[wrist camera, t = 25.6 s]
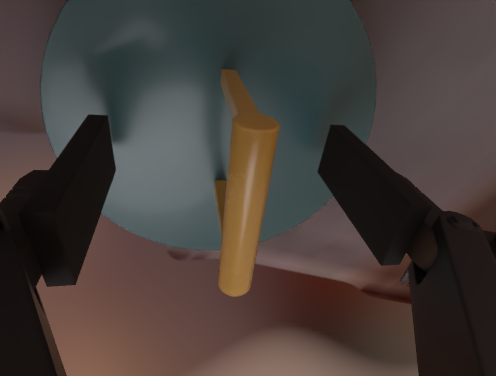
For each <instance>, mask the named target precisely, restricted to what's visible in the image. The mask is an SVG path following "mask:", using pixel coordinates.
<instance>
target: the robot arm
mask: <svg viewBox="0 0 496 376" xmlns="http://www.w3.org/2000/svg"><path fill="white" fill-rule="evenodd" d="M115 172H116V166H115V160H114V153H113V147H112V140H111V134H110V127H109V120H108V115H93V114H88V115H87V117H86V118H85V120H84V121H83V122H82V124H81V125H80V127H79V128H78V130H77V131H76V132H75V134H74V135H73V137H72V138H71V139H70V141H69V142H68V144H67V145H66V147H65V148H64V149H63V151H62V152H61V154H60V155H59V157H58V158H57V159H56V161H55V162H54V164H53V165H52V166H51V168H50V169H49V170H33V171H32V172H30V173H28V174H27V175H25V176H23V177H22V178H20V179H19V180H18V182H17V183H16V184H15V185H14V187H13V189H12V190H10V191H9V193H8V194H7V195H6V198H4V199H3V200H2V201H1V202H0V376H67V375H66V372H65V369H64V367H63V364H62V361H61V358H60V355H59V352H58V349H57V346H56V343H55V340H54V337H53V334H52V331H51V328H50V325H49V322H48V319H47V316H46V313H45V310H44V307H43V305H42V302H41V299H40V296H39V293H38V291H37V289H36V285H37V283H38V281H39V279H40V277H41V275H43V278H44V280H45V283H46V285H47V287H50V286H65V285H76V282H77V279H78V276H79V274H80V270H81V268H82V265H83V262H84V259H85V257H86V254H87V251H88V248H89V245H90V243H91V240H92V237H93V234H94V231H95V228H96V226H97V223H98V220H99V217H100V214H101V212H102V209H103V206H104V203H105V200H106V197H107V195H108V192H109V189H110V186H111V183H112V181H113V178H114V175H115ZM317 172H318V174H319V175H320V177H321V178H322V180H323V181H324V183H325V184H326V186H327V187H328V188H329V190H330V191H331V193H332V194H333V196H334V197H335V199H336V200H337V202H338V203H339V205H340V206H341V208H342V209H343V210H344V212H345V213H346V215H347V216H348V218H349V219H350V221H351V222H352V224H353V225H354V227H355V228H356V230H357V231H358V232H359V234H360V235H361V237H362V238H363V240H364V241H365V243H366V244H367V246H368V247H369V249H370V250H371V252H372V253H373V255H374V256H375V257H376V259H377V260H378V262H379V263H380V265H381V266H383V265H399V264H400V262H401V261H402V259H403V257H404V255H405V253H407V254H408V255H409V257H410V258H411V259H412V261H411V263H410V264H409V266H408V268H407V269H406V271H405V273H404V274H403V276H402V278H401V280H400V283H401V284H403V283H404V281H405V280H406V279H408V278H409V283H408V285H407V286H409V287H410V295H411V304H412V314H413V324H414V334H415V342H416V353H417V363H418V372H419V376H496V233H495V232H489V231H484V230H482V229H481V227H480V226H479V225H478V224H477V223H476V222H475V221H473V220H472V219H470V218H468V217H467V216H465V215H462V214H459V213H457V212H451V211H442V210H441V209H440V208H439V207H438V206H437V205H436V204H434V203H433V202H432V201H431V200H430V199H429V198H428V197H427V196H426V195H424V194H423V193H421V191H420V190H419V189H418V188H417V187H415V185H413V184H412V183H411V182H410V181H409V180H408V179H407V178H405V177H403V176H402V175H400V174H398V173H396V172H395V171H394V170H393V169H391V168H390V167H389V166H388V165H387V164H386V163H385V162H384V161H383V160H382V159H381V158H380V157H378V156H377V155H376V154H375V153H374V152H373V151H372V150H371V149H370V148H369V147H368V146H367V145H365V144H364V143H363V142H362V141H361V140H360V139H359V138H358V137H357V136H356V135H355V134H354V133H352V132H351V131H350V130H349V129H348V128H347V127H346V126H345V125H330V128H329V132H328V136H327V139H326V143H325V146H324V150H323V153H322V157H321V160H320V164H319V168H318V171H317Z"/></svg>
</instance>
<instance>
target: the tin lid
mask: <svg viewBox="0 0 496 376" xmlns="http://www.w3.org/2000/svg"><path fill="white" fill-rule="evenodd" d="M40 95H41V110H42V115H43V120H44V125H45V130H46V133H47V136H48V139H49V141H50V144H51V147H52V150H53V152H54V154H55V156H56V158H58V157H59V155H60V154H61V152H62V151H63V149H64V148H65V147H66V145H67V144H68V142H69V141H70V139H71V138H72V137H73V135H74V134H75V132H76V131H77V130H78V128H79V127H80V125H81V124H82V122H83V121H84V120H85V118H86V117H87V115H88V114H93V115H108V120H109V127H110V134H111V140H112V147H113V153H114V160H115V166H116V172H115V175H114V178H113V181H112V183H111V186H110V189H109V192H108V195H107V197H106V200H105V203H104V206H103V209H102V212H101V214H102V215H104V216H105V217H107V218H108V219H110V220H111V221H113V222H114V223H116V224H117V225H119V226H120V227H122V228H124V229H126V230H128V231H130V232H131V233H133V234H136V235H138V236H141V237H143V238H145V239H148V240H151V241H154V242H157V243H161V244H164V245H168V246H173V247H178V248H184V249H194V250H221V253H220V265H219V277H218V284H219V287H220V289H221V290H222V291H223V292H224V293H225V294H227V295H229V296H241V295H243V294H245V293H246V292H247V291H248V290H249V289H250V287H251V282H252V276H253V271H254V266H255V260H256V255H257V249H258V244H259V242H262V241H264V240H267V239H270V238H272V237H275V236H277V235H280V234H282V233H284V232H286V231H288V230H290V229H292V228H293V227H295V226H297V225H298V224H300V223H301V222H303V221H305V220H306V219H307V218H309V217H310V216H311V215H313V214H314V213H315V212H317V211H318V210H319V209H320V208H321V207H322V206H323V205H324V204H326V203H327V202H328V201H329V200H330V199H331V198H332V197H333V194H332V193H331V191H330V190H329V188H328V187H327V186H326V184H325V183H324V181H323V180H322V178H321V177H320V175H319V174H318V172H317V171H318V168H319V164H320V160H321V157H322V153H323V150H324V146H325V143H326V139H327V136H328V132H329V128H330V125H345V126H346V127H347V128H348V129H349V130H350V131H351V132H352V133H354V134H355V135H356V136H357V137H358V138H359V139H360V140H361V141H362V142H363V143H364V144H365V145H366V142H367V139H368V136H369V133H370V129H371V126H372V122H373V116H374V111H375V105H376V74H375V63H374V59H373V54H372V50H371V45H370V41H369V39H368V36H367V34H366V31H365V28H364V26H363V23H362V21H361V19H360V17H359V15H358V14H357V12H356V10H355V8H354V6H353V5H352V3H351V1H350V0H67V2H66V3H65V5H64V6H63V8H62V9H61V11H60V13H59V15H58V17H57V19H56V22H55V24H54V26H53V28H52V30H51V32H50V35H49V38H48V42H47V45H46V49H45V52H44V56H43V61H42V70H41V79H40Z"/></svg>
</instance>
